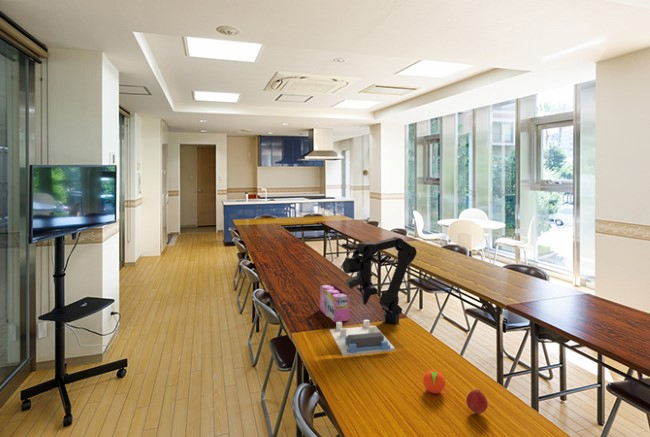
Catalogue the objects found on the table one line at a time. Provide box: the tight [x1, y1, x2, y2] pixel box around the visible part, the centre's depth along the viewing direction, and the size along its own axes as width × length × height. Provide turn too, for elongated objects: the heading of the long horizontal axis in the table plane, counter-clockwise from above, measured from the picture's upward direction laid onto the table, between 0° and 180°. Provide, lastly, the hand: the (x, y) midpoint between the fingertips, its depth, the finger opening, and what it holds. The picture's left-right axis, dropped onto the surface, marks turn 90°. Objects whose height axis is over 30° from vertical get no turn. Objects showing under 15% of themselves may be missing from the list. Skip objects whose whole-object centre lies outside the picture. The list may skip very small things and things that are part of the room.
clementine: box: [422, 369, 446, 394], centre depth 124 cm, size 8×7×7 cm
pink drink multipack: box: [319, 283, 350, 323], centre depth 194 cm, size 24×8×14 cm, turn 20°
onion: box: [466, 388, 489, 415], centre depth 113 cm, size 6×6×8 cm
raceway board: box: [329, 319, 396, 357], centre depth 164 cm, size 22×25×4 cm
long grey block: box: [348, 331, 385, 348], centre depth 156 cm, size 14×4×4 cm, turn 102°
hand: (364, 304), depth 174 cm, fingers closed
